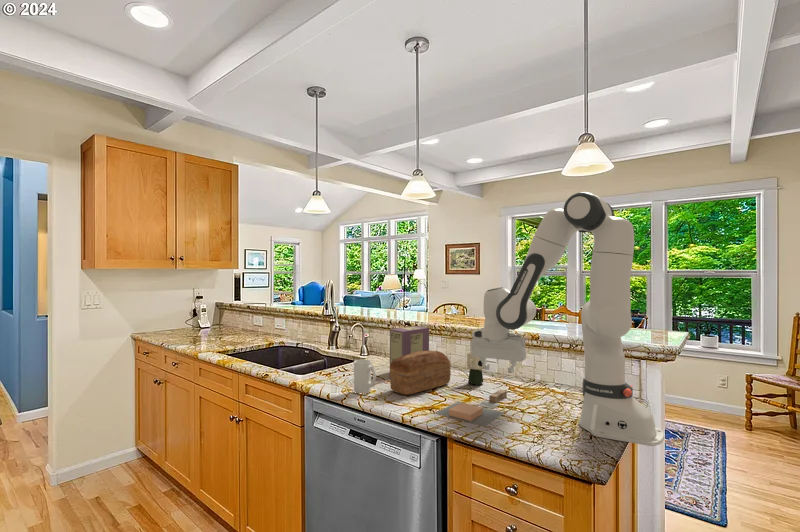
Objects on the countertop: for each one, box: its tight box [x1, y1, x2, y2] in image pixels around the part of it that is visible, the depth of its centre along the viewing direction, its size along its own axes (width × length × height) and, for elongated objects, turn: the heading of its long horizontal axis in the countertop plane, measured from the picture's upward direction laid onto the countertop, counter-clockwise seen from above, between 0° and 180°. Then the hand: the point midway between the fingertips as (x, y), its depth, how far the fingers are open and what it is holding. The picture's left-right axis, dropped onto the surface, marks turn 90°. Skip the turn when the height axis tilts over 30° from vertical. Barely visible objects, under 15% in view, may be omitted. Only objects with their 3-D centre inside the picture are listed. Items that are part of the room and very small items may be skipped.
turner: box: [477, 389, 508, 410], centre depth 148 cm, size 15×6×3 cm, turn 141°
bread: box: [389, 350, 452, 396], centre depth 167 cm, size 12×28×14 cm, turn 132°
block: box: [449, 402, 484, 421], centre depth 134 cm, size 8×2×8 cm
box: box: [389, 325, 430, 365], centre depth 193 cm, size 17×9×20 cm, turn 133°
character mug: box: [466, 350, 484, 386], centre depth 172 cm, size 11×7×13 cm, turn 145°
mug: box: [353, 358, 377, 394], centre depth 160 cm, size 10×7×12 cm, turn 53°
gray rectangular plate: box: [434, 401, 506, 427], centre depth 136 cm, size 18×15×1 cm
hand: (498, 371), depth 149 cm, fingers open, 8 cm apart
